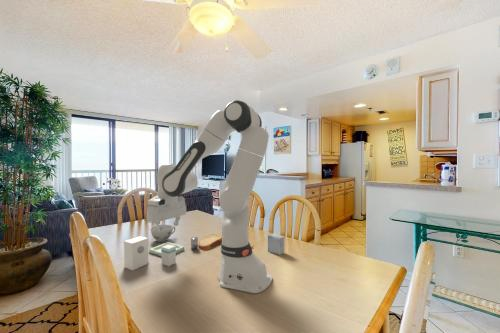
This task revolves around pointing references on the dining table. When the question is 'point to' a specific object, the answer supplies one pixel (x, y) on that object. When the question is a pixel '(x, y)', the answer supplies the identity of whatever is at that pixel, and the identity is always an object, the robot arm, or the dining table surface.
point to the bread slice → (209, 242)
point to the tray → (157, 249)
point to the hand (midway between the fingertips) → (168, 228)
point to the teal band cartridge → (168, 254)
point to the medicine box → (276, 244)
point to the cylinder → (194, 243)
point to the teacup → (162, 232)
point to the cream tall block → (136, 252)
